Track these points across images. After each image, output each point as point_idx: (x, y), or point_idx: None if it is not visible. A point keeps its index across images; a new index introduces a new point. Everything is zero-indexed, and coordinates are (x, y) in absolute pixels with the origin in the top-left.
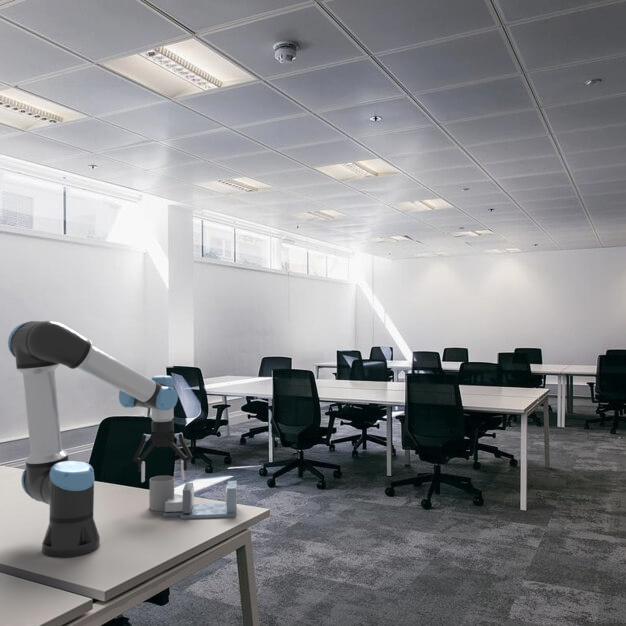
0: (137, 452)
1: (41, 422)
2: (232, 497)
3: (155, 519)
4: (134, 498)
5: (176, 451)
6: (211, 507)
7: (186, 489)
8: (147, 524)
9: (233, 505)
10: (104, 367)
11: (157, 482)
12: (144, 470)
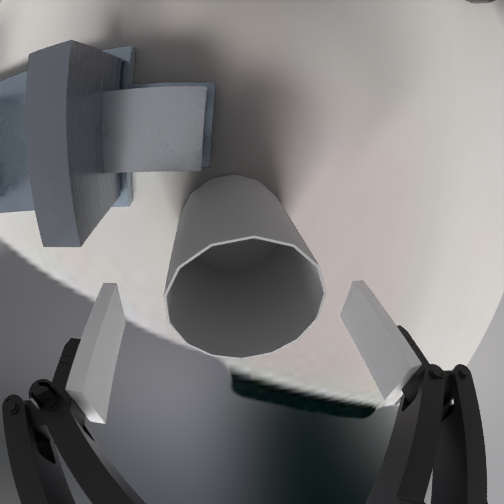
0: (475, 419)
1: None
2: None
3: (249, 56)
4: (325, 325)
5: (117, 499)
6: (25, 162)
7: (49, 70)
8: (280, 5)
9: None
10: None
11: (276, 236)
12: (368, 349)
